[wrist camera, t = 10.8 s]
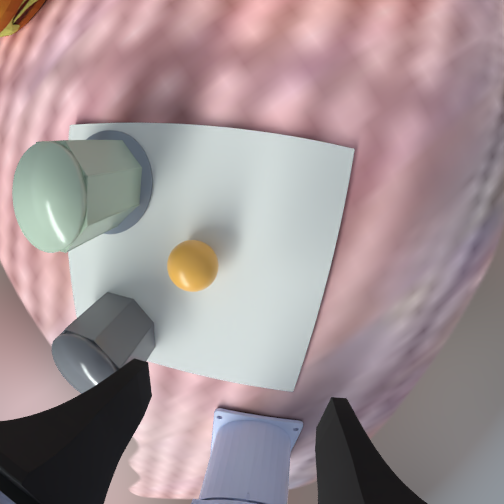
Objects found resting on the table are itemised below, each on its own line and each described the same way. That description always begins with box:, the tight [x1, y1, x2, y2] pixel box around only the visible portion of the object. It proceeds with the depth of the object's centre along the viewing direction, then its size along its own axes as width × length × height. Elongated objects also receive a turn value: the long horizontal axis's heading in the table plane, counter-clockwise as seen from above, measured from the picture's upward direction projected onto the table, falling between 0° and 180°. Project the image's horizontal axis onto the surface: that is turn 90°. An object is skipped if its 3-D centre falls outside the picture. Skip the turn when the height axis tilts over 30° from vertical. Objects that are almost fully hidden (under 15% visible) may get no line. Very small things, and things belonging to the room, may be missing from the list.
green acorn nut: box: [12, 140, 142, 253], centre depth 14 cm, size 6×6×6 cm
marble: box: [167, 240, 219, 292], centre depth 17 cm, size 3×3×3 cm
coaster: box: [86, 130, 153, 234], centre depth 17 cm, size 7×7×1 cm
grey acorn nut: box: [52, 292, 155, 393], centre depth 18 cm, size 6×6×6 cm
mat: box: [68, 123, 355, 392], centre depth 19 cm, size 18×19×1 cm
